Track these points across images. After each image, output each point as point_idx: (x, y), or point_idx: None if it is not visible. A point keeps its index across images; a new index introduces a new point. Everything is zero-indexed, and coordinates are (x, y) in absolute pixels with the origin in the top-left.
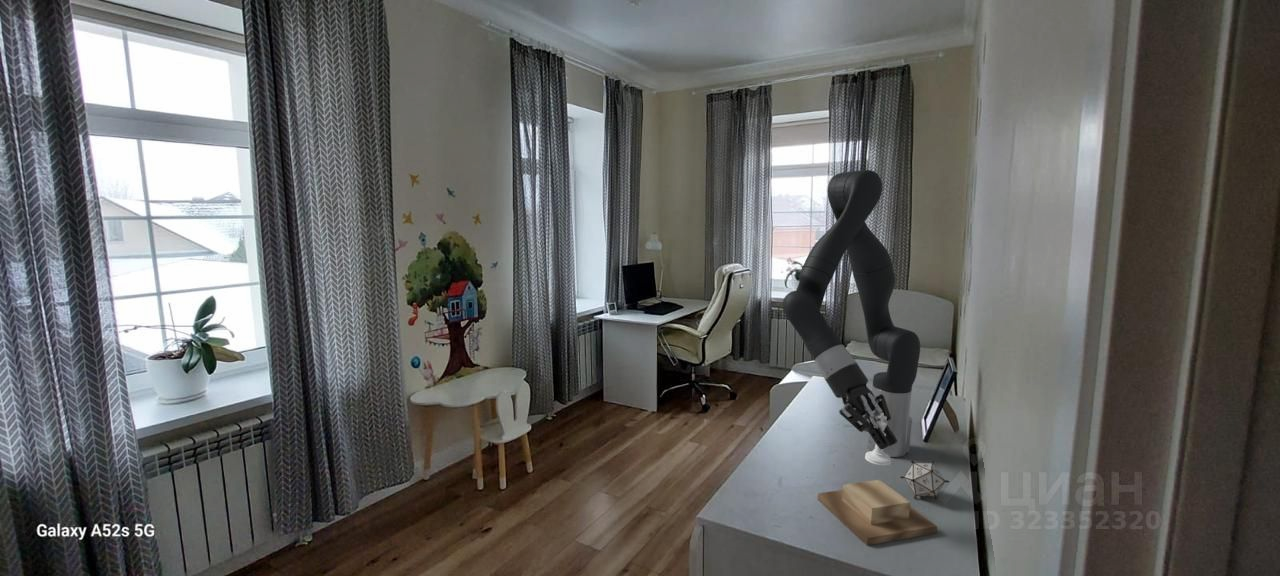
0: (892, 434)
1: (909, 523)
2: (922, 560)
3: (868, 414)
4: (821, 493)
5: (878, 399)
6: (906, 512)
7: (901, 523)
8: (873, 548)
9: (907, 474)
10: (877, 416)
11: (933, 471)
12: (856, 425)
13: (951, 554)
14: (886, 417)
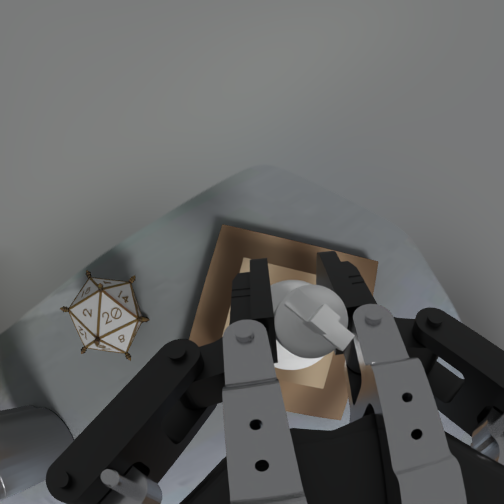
0: (256, 278)
1: (263, 253)
2: (319, 196)
3: (420, 373)
4: (334, 417)
5: (106, 492)
6: None
7: (278, 261)
8: (369, 254)
9: (122, 344)
10: (346, 345)
11: (94, 290)
12: (448, 375)
13: (260, 184)
14: (299, 290)
